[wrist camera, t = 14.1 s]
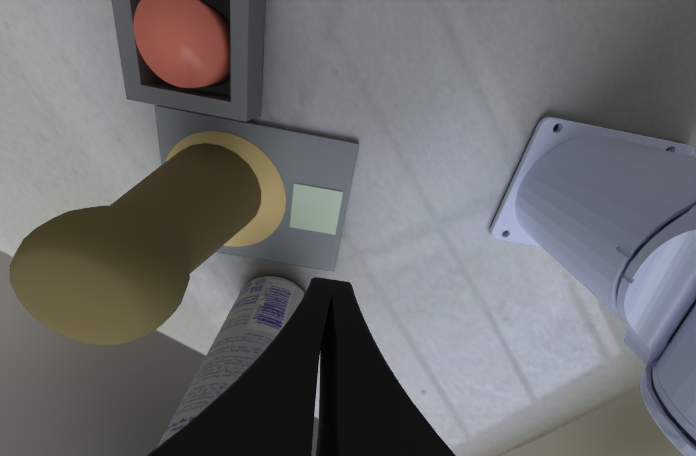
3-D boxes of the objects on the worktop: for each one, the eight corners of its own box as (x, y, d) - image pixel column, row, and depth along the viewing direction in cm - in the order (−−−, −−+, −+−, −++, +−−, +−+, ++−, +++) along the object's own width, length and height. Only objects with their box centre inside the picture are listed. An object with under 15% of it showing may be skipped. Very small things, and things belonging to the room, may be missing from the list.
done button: (239, 9, 15) (219, -2, 12) (238, 92, 16) (221, 95, 14) (160, -7, 14) (127, -22, 12) (168, 78, 16) (139, 79, 14)
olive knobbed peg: (165, 216, 20) (-15, 348, 10) (170, 128, 17) (-66, 195, 8) (252, 241, 21) (163, 386, 11) (270, 161, 18) (172, 260, 8)
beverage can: (229, 303, 24) (75, 578, 11) (264, 259, 22) (125, 534, 9) (285, 334, 26) (210, 610, 13) (323, 296, 24) (281, 579, 10)
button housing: (266, -10, 15) (249, -26, 12) (261, 115, 17) (246, 121, 15) (143, -37, 14) (102, -58, 12) (157, 96, 17) (126, 99, 15)
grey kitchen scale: (358, 143, 18) (358, 144, 18) (334, 268, 22) (333, 272, 22) (158, 105, 17) (153, 105, 17) (173, 241, 22) (169, 245, 21)
